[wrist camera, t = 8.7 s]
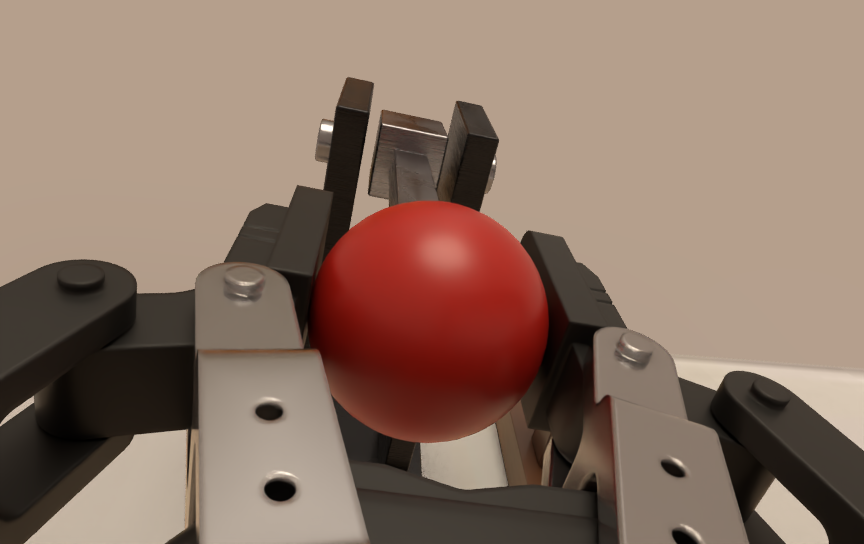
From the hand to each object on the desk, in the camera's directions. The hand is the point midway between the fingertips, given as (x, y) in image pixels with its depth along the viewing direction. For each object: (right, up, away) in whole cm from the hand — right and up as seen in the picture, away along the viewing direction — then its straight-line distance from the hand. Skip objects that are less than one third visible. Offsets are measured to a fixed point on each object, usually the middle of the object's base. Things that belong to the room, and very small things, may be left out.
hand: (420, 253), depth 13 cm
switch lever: (-1, -1, +4) cm, 4 cm away
